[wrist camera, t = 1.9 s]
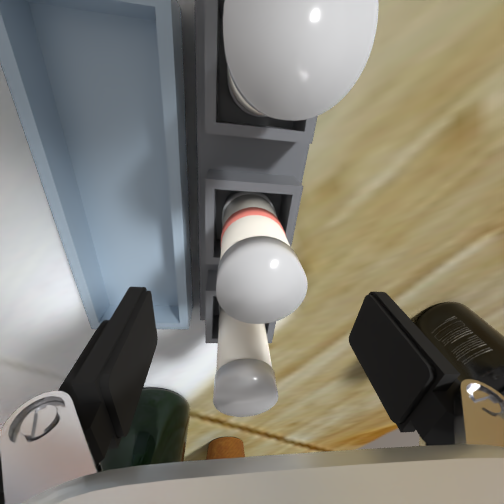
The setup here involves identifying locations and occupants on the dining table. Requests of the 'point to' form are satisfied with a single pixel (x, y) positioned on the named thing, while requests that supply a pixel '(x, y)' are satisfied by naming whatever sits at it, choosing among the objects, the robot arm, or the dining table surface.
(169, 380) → the dining table surface
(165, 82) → the parts tray
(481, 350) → the supplement bottle
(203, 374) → the dining table surface
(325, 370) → the dining table surface
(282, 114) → the ball
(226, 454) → the disposable coffee cup
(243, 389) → the fuse
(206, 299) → the fuse holder
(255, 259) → the cylinder
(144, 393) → the green wine bottle
